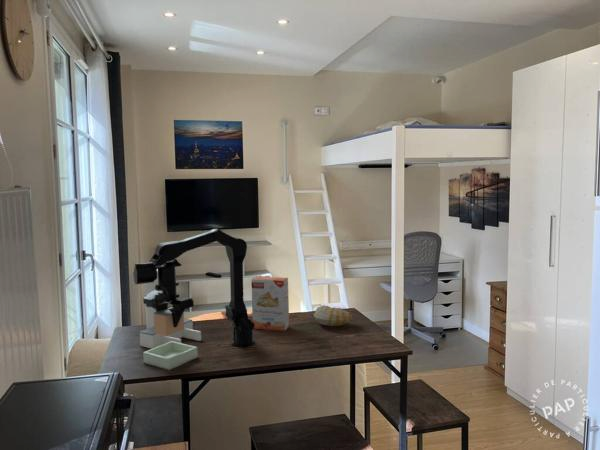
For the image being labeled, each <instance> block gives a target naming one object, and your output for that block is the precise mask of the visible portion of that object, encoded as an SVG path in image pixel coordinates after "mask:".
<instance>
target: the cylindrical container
mask: <svg viewBox="0 0 600 450" xmlns="http://www.w3.org/2000/svg"><path fill="white" fill-rule="evenodd" d="M156 284H158V269H157V279H156V280H154V282H151V283H144V284H143V286H144V287H143V288H144V296H145V295H147V294H149V293H150V292H152V291H154V290H155V286H156ZM144 305H145V321H146V322H145V323H146V329H148V328H151V327H154V312H156V310H155V309H154V308H152V307H147V306H146V304H144Z"/></svg>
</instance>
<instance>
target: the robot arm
mask: <svg viewBox="0 0 600 450" xmlns="http://www.w3.org/2000/svg"><path fill="white" fill-rule="evenodd" d="M216 242H217V243H218V244H220V245H221V246H223V247H225V252H226V255H227V258H228V261H229V271H230V272H229V275H230V276H229V281H230V282H229V283H230V284H229V285H230V301H229V304H228V305H225V306H224V307H225V315H224V316H225V317H226V319H227V320H228V322H230V323H231V325H232V326H233V330H232V331H233V333H232V335H233V338H232V339H233V342H231V346H235V347H238V348H244V349H245V348H247V347H249V346H251V345H253V344H255V343H256V340H253V330H255V329H254V325H255V324H254V323H253V320H250V318H249V315H248V309H247V306H246V304H245V301H244V265H243V264H244V261H245V259H246V255H247V249H248V244H247V241H245V239H243V238H240V237H236V236H233V235H230V234H227V233H226V232H224V231H222V230H221V229H219V228H212V229H211V230H208V231H206V232H203V233H200V234H197V235H193V236H191V237H187V238H185V239H181V240H174V241H173V240H172V241H170V240H169V241H165V242H160V243H158V244H156V247H155V249H154V254H153V255H152V257H151V258H150V260H149V262H142V263H141V262H135V263H134V267H133V282H134V284H135V285H144V283H151V282H154V280H156V279H157V269H158V284H156V286H155V290H154V291H152V292H150V293H149V294H147V295H145V294H144V297H143V298H142V299H143V302H142V303H143V304H144V305H145V304H146V306H147V307H152V308H154V309H155V310H156V312H157V311H161V310H164V309H167V308H169V306H168V305H171V307H173V308H171V309H169V310H170V311H171V312H172V318H173V325H174V327H177V325H178V323H179V321H180V318H181V316H182V314H183V312H185V310H187V309H190V308H192V307H194V306H195V303H194V301H195V300H194V299H193V298H192V297H185V296H183V297H180V294H179V293H177V287H178V286H179V284H180V283H179V282H178V281H177V277H176V274H177V273H176V267H181V266H182V264H181V263H180V262H179V260H178V258H179V257H181V256H182V255H183V254H184V253H186V252H189V251H192V250H194V249H198V248H201V247H204V246H206V245H210V244H212V243H216Z"/></svg>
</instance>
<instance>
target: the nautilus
mask: <svg viewBox="0 0 600 450" xmlns="http://www.w3.org/2000/svg"><path fill="white" fill-rule="evenodd" d="M313 317H314V319H315V321H316V322H317V323H318V324H320V325H323V326H326V327H337V326H338V327H340V326H342V325H346V324H349V323H350V322H351V321H352V319H353V315H352V313H350V312H348V311H346V310H345V309H342V308H340V307H330V306H329V305H324V304H323V305H322V304H318V306H317V308H316V309H315V311H314V314H313Z"/></svg>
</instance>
